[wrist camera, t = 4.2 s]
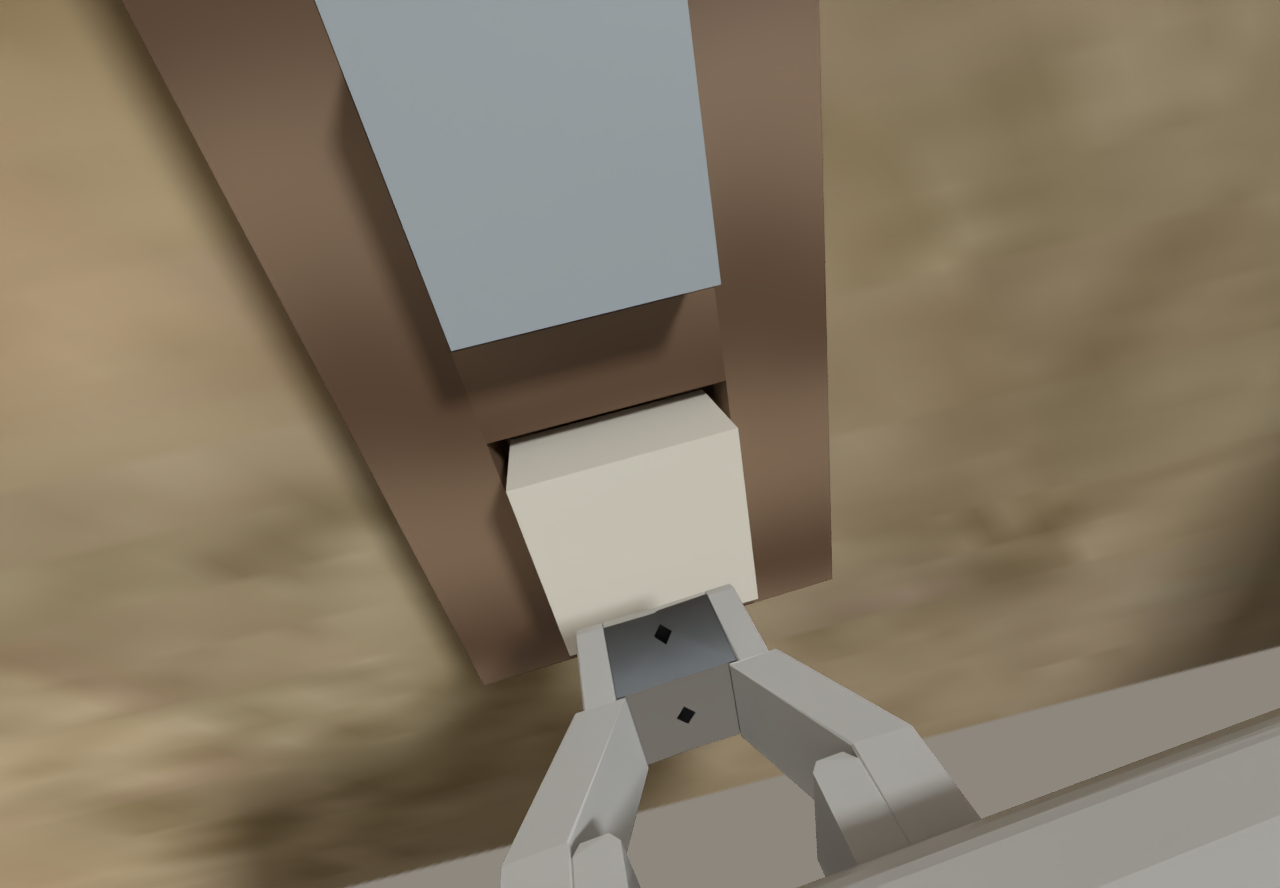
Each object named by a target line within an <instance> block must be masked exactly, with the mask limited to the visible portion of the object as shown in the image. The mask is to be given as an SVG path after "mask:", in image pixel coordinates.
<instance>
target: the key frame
mask: <svg viewBox="0 0 1280 888" xmlns="http://www.w3.org/2000/svg"><path fill="white" fill-rule="evenodd" d="M121 1H122V2H123V4H124V6H125V8H126V10H127V12H128V14H129V16H130V18H131V20H132V21H133V23H134V25H135V27H136V29H137V31H138V33H139V35H140V37H141V38H142V40H143V42H144V44H145V46H146V48H147V50H148V52H149V54H150V55H151V57H152V59H153V61H154V63H155V65H156V67H157V69H158V71H159V72H160V74H161V76H162V78H163V80H164V82H165V84H166V86H167V88H168V89H169V91H170V93H171V95H172V97H173V99H174V101H175V103H176V105H177V106H178V108H179V110H180V112H181V114H182V116H183V118H184V120H185V122H186V123H187V125H188V127H189V129H190V131H191V133H192V135H193V137H194V139H195V140H196V142H197V144H198V146H199V148H200V150H201V152H202V154H203V156H204V157H205V159H206V161H207V163H208V165H209V167H210V169H211V171H212V173H213V174H214V176H215V178H216V180H217V182H218V184H219V186H220V188H221V190H222V191H223V193H224V195H225V197H226V199H227V201H228V203H229V205H230V207H231V208H232V210H233V212H234V214H235V216H236V218H237V220H238V222H239V224H240V225H241V227H242V229H243V231H244V233H245V235H246V237H247V239H248V241H249V242H250V244H251V246H252V248H253V250H254V252H255V254H256V256H257V258H258V259H259V261H260V263H261V265H262V267H263V269H264V271H265V273H266V275H267V276H268V278H269V280H270V282H271V284H272V286H273V288H274V290H275V292H276V293H277V295H278V297H279V299H280V301H281V303H282V305H283V307H284V309H285V310H286V312H287V314H288V316H289V318H290V320H291V322H292V324H293V326H294V327H295V329H296V331H297V333H298V335H299V337H300V339H301V341H302V343H303V344H304V346H305V348H306V350H307V352H308V354H309V356H310V358H311V360H312V361H313V363H314V365H315V367H316V369H317V371H318V373H319V375H320V377H321V378H322V380H323V382H324V384H325V386H326V388H327V390H328V392H329V394H330V395H331V397H332V399H333V401H334V403H335V405H336V407H337V409H338V411H339V412H340V414H341V416H342V418H343V420H344V422H345V424H346V426H347V428H348V429H349V431H350V433H351V435H352V437H353V439H354V441H355V443H356V445H357V446H358V448H359V450H360V452H361V454H362V456H363V458H364V460H365V462H366V463H367V465H368V467H369V469H370V471H371V473H372V475H373V477H374V479H375V480H376V482H377V484H378V486H379V488H380V490H381V492H382V494H383V496H384V497H385V499H386V501H387V503H388V505H389V507H390V509H391V511H392V513H393V514H394V516H395V518H396V520H397V522H398V524H399V526H400V528H401V530H402V531H403V533H404V535H405V537H406V539H407V541H408V543H409V545H410V547H411V548H412V550H413V552H414V554H415V556H416V558H417V560H418V562H419V564H420V565H421V567H422V569H423V571H424V573H425V575H426V577H427V579H428V581H429V582H430V584H431V586H432V588H433V590H434V592H435V594H436V596H437V598H438V599H439V601H440V603H441V605H442V607H443V609H444V611H445V613H446V615H447V616H448V618H449V620H450V622H451V624H452V626H453V628H454V630H455V632H456V633H457V635H458V637H459V639H460V641H461V643H462V645H463V647H464V649H465V650H466V652H467V654H468V656H469V658H470V660H471V662H472V664H473V666H474V667H475V669H476V671H477V673H478V675H479V677H480V679H481V681H482V683H483V684H484V685H487V684H491V683H494V682H497V681H500V680H504V679H507V678H510V677H513V676H517V675H520V674H523V673H526V672H530V671H533V670H536V669H540V668H543V667H546V666H549V665H553V664H556V663H559V662H562V661H566V660H569V659H572V658H575V657H577V654H575V655H572V656H570V655H569V653H568V650H567V648H566V645H565V642H564V640H563V637H562V635H561V632H560V630H559V627H558V624H557V622H556V619H555V617H554V614H553V612H552V609H551V606H550V604H549V601H548V599H547V596H546V594H545V591H544V588H543V586H542V583H541V581H540V578H539V576H538V573H537V570H536V568H535V565H534V563H533V560H532V558H531V555H530V552H529V550H528V547H527V545H526V542H525V540H524V537H523V534H522V532H521V529H520V527H519V524H518V522H517V519H516V516H515V514H514V511H513V509H512V506H511V504H510V501H509V498H508V496H507V493H506V485H507V474H508V463H509V451H510V440H513V439H517V438H521V437H524V436H528V435H532V434H536V433H540V432H543V431H547V430H551V429H555V428H558V427H562V426H566V425H570V424H573V423H577V422H581V421H585V420H589V419H592V418H596V417H600V416H604V415H607V414H611V413H615V412H619V411H622V410H626V409H630V408H634V407H638V406H641V405H645V404H649V403H653V402H656V401H660V400H664V399H668V398H671V397H675V396H679V395H683V394H687V393H690V392H694V391H698V390H703V391H704V392H705V393H706V394H707V395H708V396H709V397H710V398H711V399H712V400H713V402H714V403H715V404H716V405H717V406H718V407H719V408H720V409H721V410H722V411H723V412H724V413H725V415H726V416H727V417H728V418H729V419H730V420H731V421H732V422H733V423H734V424H735V425H736V426H737V428H738V432H739V440H740V448H741V457H742V465H743V474H744V482H745V491H746V499H747V508H748V516H749V525H750V533H751V541H752V550H753V558H754V567H755V575H756V584H757V592H758V599H755V600H752V601H749V602H745V603H743V605H744V606H745V605H748V604H752V603H755V602H758V601H762V600H765V599H768V598H771V597H775V596H778V595H781V594H784V593H788V592H791V591H794V590H797V589H801V588H804V587H807V586H811V585H814V584H817V583H820V582H824V581H827V580H830V579H832V548H831V504H830V461H829V417H828V373H827V329H826V285H825V241H824V197H823V153H822V109H821V66H820V22H819V0H688V9H689V17H690V26H691V34H692V43H693V51H694V59H695V68H696V76H697V85H698V93H699V102H700V110H701V119H702V127H703V136H704V144H705V153H706V161H707V169H708V178H709V186H710V195H711V203H712V212H713V220H714V229H715V237H716V246H717V254H718V262H719V271H720V279H721V285H717V286H713V287H709V288H705V289H701V290H697V291H693V292H689V293H685V294H681V295H676V296H672V297H668V298H664V299H660V300H656V301H652V302H648V303H644V304H640V305H636V306H632V307H628V308H624V309H620V310H616V311H612V312H608V313H604V314H600V315H596V316H592V317H588V318H584V319H579V320H575V321H571V322H567V323H563V324H559V325H555V326H551V327H547V328H543V329H539V330H535V331H531V332H527V333H523V334H519V335H515V336H511V337H507V338H503V339H499V340H495V341H491V342H487V343H482V344H478V345H474V346H470V347H466V348H462V349H458V350H454V351H451V349H450V347H449V344H448V342H447V339H446V336H445V334H444V331H443V329H442V326H441V324H440V321H439V318H438V316H437V313H436V311H435V308H434V306H433V303H432V300H431V298H430V295H429V293H428V290H427V288H426V285H425V282H424V280H423V277H422V275H421V272H420V270H419V267H418V264H417V262H416V259H415V257H414V254H413V252H412V249H411V246H410V244H409V241H408V239H407V236H406V234H405V231H404V228H403V226H402V223H401V221H400V218H399V216H398V213H397V210H396V208H395V205H394V203H393V200H392V198H391V195H390V192H389V190H388V187H387V185H386V182H385V180H384V177H383V174H382V172H381V169H380V167H379V164H378V162H377V159H376V156H375V154H374V151H373V149H372V146H371V144H370V141H369V138H368V136H367V133H366V131H365V128H364V126H363V123H362V120H361V118H360V115H359V113H358V110H357V108H356V105H355V102H354V100H353V97H352V95H351V92H350V90H349V87H348V84H347V82H346V79H345V77H344V74H343V72H342V69H341V66H340V64H339V61H338V59H337V56H336V54H335V51H334V48H333V46H332V43H331V41H330V38H329V36H328V33H327V30H326V28H325V25H324V23H323V20H322V18H321V15H320V12H319V10H318V7H317V5H316V2H315V0H121Z"/></svg>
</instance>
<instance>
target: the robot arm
mask: <svg viewBox="0 0 1280 888" xmlns="http://www.w3.org/2000/svg"><path fill="white" fill-rule="evenodd" d="M575 641H576V650H577V659H578V668H579V677H580V686H581V695H582V704H583V711H581V712H579V713H576V714H575V715H574V717H573V719H572V721H571V723H570V725H569V727H568V729H567V731H566V733H565V735H564V737H563V740H562V742H561V744H560V746H559V748H558V750H557V752H556V754H555V756H554V758H553V760H552V762H551V764H550V767H549V769H548V771H547V773H546V775H545V777H544V779H543V781H542V783H541V785H540V787H539V789H538V791H537V793H536V796H535V798H534V800H533V802H532V804H531V806H530V808H529V810H528V812H527V814H526V816H525V818H524V820H523V823H522V825H521V827H520V829H519V831H518V833H517V835H516V837H515V839H514V841H513V843H512V845H511V847H510V850H509V852H508V854H507V856H506V858H505V860H504V862H503V864H502V866H501V881H500V888H640V886H639V883H638V880H637V878H636V876H635V873H634V871H633V869H632V866H631V864H630V861H629V859H628V856H627V854H626V853H627V850H628V845H629V841H630V838H631V834H632V830H633V826H634V822H635V819H636V815H637V811H638V807H639V803H640V800H641V796H642V792H643V788H644V784H645V780H646V776H647V773H648V769H649V768H648V765H649V764H652V763H655V762H657V761H660V760H663V759H665V758H668V757H671V756H673V755H676V754H679V753H682V752H684V751H687V750H690V749H692V748H695V747H699V746H702V745H705V744H708V743H712V742H715V741H718V740H722V739H725V738H728V737H731V736H735V735H738V734H741V736H742V737H743V738H744V739H745V740H746V741H747V742H749V743H750V744H751V745H752V746H753V747H754V748H755V749H757V750H758V751H759V752H760V753H761V754H762V755H763V756H765V757H766V758H767V759H768V760H769V761H770V762H772V763H773V764H774V765H775V766H776V767H777V768H778V769H780V770H781V771H782V772H783V773H784V774H785V775H786V776H788V777H789V778H790V779H791V780H792V781H793V782H794V783H796V784H797V785H798V786H799V787H800V788H801V789H802V790H804V791H805V792H806V793H807V794H808V795H809V796H811V797H812V798H813V799H814V801H815V820H816V839H817V858H818V861H819V863H820V866H821V868H822V870H823V873H824V875H825V877H824V878H822V879H819V880H816V881H814V882H811V883H808V884H806V885H803V886H800V887H797V888H1280V708H1279V709H1276V710H1274V711H1271V712H1268V713H1265V714H1263V715H1260V716H1257V717H1255V718H1252V719H1249V720H1246V721H1244V722H1241V723H1238V724H1236V725H1233V726H1230V727H1228V728H1225V729H1223V730H1220V731H1217V732H1214V733H1211V734H1209V735H1206V736H1204V737H1201V738H1198V739H1195V740H1193V741H1190V742H1187V743H1185V744H1182V745H1179V746H1177V747H1174V748H1171V749H1168V750H1166V751H1163V752H1160V753H1158V754H1155V755H1152V756H1150V757H1147V758H1144V759H1142V760H1139V761H1136V762H1134V763H1131V764H1128V765H1126V766H1123V767H1120V768H1118V769H1115V770H1112V771H1109V772H1107V773H1104V774H1101V775H1099V776H1096V777H1093V778H1091V779H1088V780H1085V781H1082V782H1080V783H1077V784H1074V785H1072V786H1069V787H1067V788H1064V789H1061V790H1058V791H1056V792H1053V793H1050V794H1048V795H1045V796H1042V797H1039V798H1037V799H1034V800H1031V801H1029V802H1026V803H1023V804H1021V805H1018V806H1015V807H1012V808H1010V809H1007V810H1005V811H1002V812H999V813H996V814H994V815H991V816H988V817H986V818H983V819H981V818H980V817H979V815H978V814H977V813H976V811H975V810H974V809H973V808H972V806H971V805H970V803H969V802H968V801H967V799H966V798H965V797H964V795H963V794H962V793H961V791H960V790H959V788H958V787H957V786H956V784H955V783H954V782H953V780H952V779H951V778H950V776H949V775H948V774H947V772H946V771H945V770H944V768H943V767H942V766H941V764H940V763H939V761H938V760H937V759H936V758H935V756H934V755H933V753H932V752H931V751H930V749H929V748H928V747H927V745H926V744H925V743H924V741H923V740H922V739H921V737H920V736H919V734H918V733H917V732H916V730H915V729H914V728H913V726H912V725H910V724H908V723H907V722H905V721H903V720H901V719H899V718H898V717H896V716H894V715H892V714H891V713H889V712H887V711H885V710H884V709H882V708H880V707H878V706H877V705H875V704H873V703H871V702H870V701H868V700H866V699H864V698H863V697H861V696H859V695H857V694H856V693H854V692H852V691H850V690H849V689H847V688H845V687H843V686H842V685H840V684H838V683H836V682H834V681H833V680H831V679H829V678H827V677H826V676H824V675H822V674H820V673H819V672H817V671H815V670H813V669H812V668H810V667H808V666H806V665H805V664H803V663H801V662H799V661H798V660H796V659H794V658H792V657H791V656H789V655H787V654H785V653H784V652H782V651H780V650H778V649H774V650H770V651H769V650H768V649H767V647H766V645H765V643H764V641H763V640H762V638H761V636H760V634H759V632H758V630H757V629H756V627H755V625H754V623H753V621H752V620H751V618H750V616H749V614H748V612H747V610H746V609H745V607H744V605H743V603H742V601H741V600H740V598H739V596H738V594H737V592H736V590H735V589H734V587H733V586H732V585H731V584H727V585H723V586H720V587H717V588H714V589H711V590H708V591H705V593H704V592H701V593H698V594H695V595H692V596H689V597H686V598H683V599H679V600H676V601H673V602H670V603H667V604H664V605H661V606H657V607H654V608H653V609H649V610H645V611H642V612H638V613H635V614H631V615H628V616H624V617H620V618H617V619H613V620H610V621H606V622H603V623H601V624H598V625H594V626H590V627H587V628H583V629H580V630H576V636H575ZM693 745H694V746H693Z"/></svg>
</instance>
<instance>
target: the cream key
mask: <svg viewBox="0 0 1280 888" xmlns="http://www.w3.org/2000/svg"><path fill="white" fill-rule="evenodd" d="M506 493H507V496H508V498H509V501H510V504H511V506H512V509H513V511H514V514H515V516H516V519H517V522H518V524H519V527H520V529H521V532H522V534H523V537H524V540H525V542H526V545H527V547H528V550H529V552H530V555H531V558H532V560H533V563H534V565H535V568H536V570H537V573H538V576H539V578H540V581H541V583H542V586H543V588H544V591H545V594H546V596H547V599H548V601H549V604H550V606H551V609H552V612H553V614H554V617H555V619H556V622H557V624H558V627H559V630H560V632H561V635H562V637H563V640H564V642H565V645H566V648H567V650H568V653H569V655H570V656H572V655H575V654H577V650H576V641H575V636H576V630H580V629H583V628H587V627H590V626H594V625H598V624H601V623H603V622H606V621H610V620H613V619H617V618H620V617H624V616H628V615H631V614H635V613H638V612H642V611H645V610H649V609H653V608H654V607H657V606H661V605H664V604H667V603H670V602H673V601H676V600H679V599H683V598H686V597H689V596H692V595H695V594H698V593H701V592H704V593H705V591H708V590H711V589H714V588H717V587H720V586H723V585H727V584H731V585H732V586H733V587H734V589H735V590H736V592H737V594H738V596H739V598H740V600H741V601H742V603H745V602H749V601H752V600H755V599H758V592H757V584H756V575H755V567H754V558H753V550H752V541H751V533H750V525H749V516H748V508H747V499H746V491H745V482H744V474H743V465H742V457H741V448H740V440H739V432H738V428H737V426H736V425H735V424H734V423H733V422H732V421H731V420H730V419H729V418H728V417H727V416H726V415H725V413H724V412H723V411H722V410H721V409H720V408H719V407H718V406H717V405H716V404H715V403H714V402H713V400H712V399H711V398H710V397H709V396H708V395H707V394H706V393H705V392H704V391H703V390H698V391H694V392H690V393H687V394H683V395H679V396H675V397H671V398H668V399H664V400H660V401H656V402H653V403H649V404H645V405H641V406H638V407H634V408H630V409H626V410H622V411H619V412H615V413H611V414H607V415H604V416H600V417H596V418H592V419H589V420H585V421H581V422H577V423H573V424H570V425H566V426H562V427H558V428H555V429H551V430H547V431H543V432H540V433H536V434H532V435H528V436H524V437H521V438H517V439H513V440H510V451H509V463H508V474H507V485H506Z"/></svg>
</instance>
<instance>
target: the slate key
mask: <svg viewBox="0 0 1280 888" xmlns="http://www.w3.org/2000/svg"><path fill="white" fill-rule="evenodd" d="M315 2H316V5H317V7H318V10H319V12H320V15H321V18H322V20H323V23H324V25H325V28H326V30H327V33H328V36H329V38H330V41H331V43H332V46H333V48H334V51H335V54H336V56H337V59H338V61H339V64H340V66H341V69H342V72H343V74H344V77H345V79H346V82H347V84H348V87H349V90H350V92H351V95H352V97H353V100H354V102H355V105H356V108H357V110H358V113H359V115H360V118H361V120H362V123H363V126H364V128H365V131H366V133H367V136H368V138H369V141H370V144H371V146H372V149H373V151H374V154H375V156H376V159H377V162H378V164H379V167H380V169H381V172H382V174H383V177H384V180H385V182H386V185H387V187H388V190H389V192H390V195H391V198H392V200H393V203H394V205H395V208H396V210H397V213H398V216H399V218H400V221H401V223H402V226H403V228H404V231H405V234H406V236H407V239H408V241H409V244H410V246H411V249H412V252H413V254H414V257H415V259H416V262H417V264H418V267H419V270H420V272H421V275H422V277H423V280H424V282H425V285H426V288H427V290H428V293H429V295H430V298H431V300H432V303H433V306H434V308H435V311H436V313H437V316H438V318H439V321H440V324H441V326H442V329H443V331H444V334H445V336H446V339H447V342H448V344H449V347H450V349H451V351H454V350H458V349H462V348H466V347H470V346H474V345H478V344H482V343H487V342H491V341H495V340H499V339H503V338H507V337H511V336H515V335H519V334H523V333H527V332H531V331H535V330H539V329H543V328H547V327H551V326H555V325H559V324H563V323H567V322H571V321H575V320H579V319H584V318H588V317H592V316H596V315H600V314H604V313H608V312H612V311H616V310H620V309H624V308H628V307H632V306H636V305H640V304H644V303H648V302H652V301H656V300H660V299H664V298H668V297H672V296H676V295H681V294H685V293H689V292H693V291H697V290H701V289H705V288H709V287H713V286H717V285H721V279H720V271H719V262H718V254H717V246H716V237H715V229H714V220H713V212H712V203H711V195H710V186H709V178H708V169H707V161H706V153H705V144H704V136H703V127H702V119H701V110H700V102H699V93H698V85H697V76H696V68H695V59H694V51H693V43H692V34H691V26H690V17H689V9H688V0H315Z"/></svg>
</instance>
